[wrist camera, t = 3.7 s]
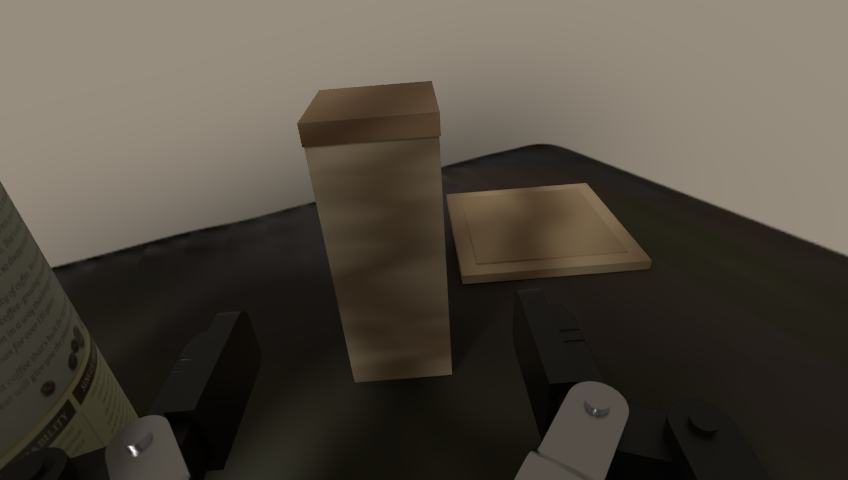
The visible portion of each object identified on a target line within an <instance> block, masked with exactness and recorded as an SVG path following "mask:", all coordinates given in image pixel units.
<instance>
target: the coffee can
mask: <svg viewBox="0 0 848 480" xmlns="http://www.w3.org/2000/svg"><path fill="white" fill-rule="evenodd" d="M136 419H139V417H138V416H137V414H136V412H135V410H134V409H133V407H132V405H131V404H130V402H129V400H128V399H127V397H126V395H125V394H124V392H123V390H122V389H121V387H120V385H119V383H118V382H117V380H116V378H115V376H114V375H113V373H112V371H111V370H110V368H109V366H108V365H107V363H106V361H105V359H104V358H103V356H102V354H101V353H100V351H99V349H98V348H97V346H96V344H95V343H94V341H93V339H92V337H91V335H90V333H89V332H88V330H87V329H86V327H85V325H84V324H83V322H82V320H81V319H80V317H79V315H78V314H77V312H76V310H75V309H74V307H73V305H72V303H71V302H70V300H69V298H68V297H67V295H66V293H65V291H64V290H63V288H62V286H61V284H60V283H59V281H58V279H57V278H56V276H55V274H54V272H53V271H52V269H51V267H50V266H49V264H48V262H47V261H46V259H45V257H44V255H43V254H42V252H41V250H40V248H39V247H38V245H37V243H36V242H35V240H34V238H33V237H32V235H31V233H30V231H29V229H28V228H27V226H26V225H25V223H24V221H23V219H22V218H21V216H20V214H19V212H18V211H17V209H16V207H15V206H14V204H13V202H12V201H11V199H10V197H9V195H8V194H7V192H6V190H5V189H4V187H3V185H2V184H1V182H0V477H1V476H2V475H3V473H4V472H5V471H6V470H7V469H8V468H10V467H11V466H12V465H13V464H14V463H16V462H17V461H19V460H20V459H22V458H23V457H25V456H27V455H29V454H31V453H33V452H35V451H37V450H41V449H44V448H49V447H57V448H61V449H63V450H64V451H65V452H66V453H67V455H68V456H69V457H70V458H73V457H76V456H79V455H82V454H85V453H88V452H91V451H94V450H97V449H100V448H103V447H106V446H107V445H108V443H109V442H110V440H111V439H112V437H113V436H114V435H115V434H116V433H117V432H118V431H119V430H120V429H122V428H123V427H124V426H126V425H127V424H129V423H130V422H132V421H134V420H136Z"/></svg>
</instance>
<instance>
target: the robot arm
mask: <svg viewBox="0 0 848 480" xmlns="http://www.w3.org/2000/svg"><path fill="white" fill-rule="evenodd" d="M513 339H514V346H515V350H516V354H517V357H518V361H519V364H520V368H521V371H522V375H523V378H524V382H525V385H526V389H527V392H528V396H529V399H530V402H531V406H532V409H533V413H534V416H535V420H536V423H537V427H538V430H539V434H540V437H541V441H542V443H541V445H540V447H539V448H538V450H537V451H535V450H532V451H531V452H530V453H529V454H528V456H527V457H526V459H525V461H524V463H523V464H522V466H521V468H520V470H519V472H518V474H517V475H516V477H515V479H514V480H770V478H769V477H768V475H767V474H766V472H765V470H764V469H763V467H762V466H761V464H760V463H759V461H758V460H757V458H756V457H755V455H754V453H753V452H752V450H751V449H750V447H749V446H748V444H747V443H746V441H745V439H744V438H743V436H742V435H741V433H740V432H739V430H738V429H737V427H736V425H735V424H734V423H733V421H732V420H731V419H730V418H729V417H728V416H727V415H726V414H725V413H724V412H722V411H721V410H719V409H718V408H716V407H714V406H713V405H711V404H708V403H705V402H702V401H698V400H690V399H687V400H681V401H677V402H675V403H674V404H673V405H671V407H670V408H669V411H668V412H666V411H661V410H656V409H651V408H645V407H641V406H637V405H634V404H631V403H629V402H627V401H626V400H625V399H624V397H623V396H622V395H621V394H620V393H619V392H618V391H616V390H615V389H614V388H612V387H610V386H608V385H607V384H606V382H605V380H604V378H603V376H602V374H601V372H600V370H599V368H598V366H597V364H596V361H595V359H594V357H593V355H592V353H591V351H590V349H589V347H588V345H587V343H586V342H585V339H584V337H583V335H582V332H581V331H580V328H579V326H578V324H577V322H576V320H575V318H574V316H573V315H572V314H571V313H570V312H569V311H568V310H567V309H566V308H564V307H563V306H562V305H561V304H555V305H548V303H547V301H546V299H545V296H544V294H543V292H542V290H541V289H540V288H537V289H525V290H515V293H514V313H513ZM260 363H261V353H260V348H259V345H258V342H257V339H256V336H255V333H254V331H253V328H252V325H251V322H250V319H249V316H248V314H247V313H246V312H245V311H235V312H222V313H218V314H216V316H215V317H214V319H213V321H212V323H211V325H210V327H209V328H208V330H207V331H200V332H199V333H198V334H197V335H196V336H195V337H194V338H192V339H191V340H190V341H189V342H188V343H187V344H186V345H185V347H184V349H183V351H182V352H181V354H180V356H179V357H178V362H176V363H175V364H174V366H173V368H172V370H171V373H170V374H169V375H168V377H167V378H166V380H165V382H164V384H163V385H162V387H161V389H160V391H159V392H158V394H157V396H156V397H155V399H154V401H153V403H152V404H151V406H150V408H149V410H148V411H147V413H146V415H145V417H141V418H139V419H136V420H134V421H132V422H130V423H129V424H127V425H126V426H124V427H123V428H122V429H120V430H119V431H118V432H117V433H116V434H115V435H114V436H113V437H112V439H111V440H110V442H109V443H108V445H107V446H106V447H103V448H100V449H97V450H94V451H91V452H88V453H85V454H82V455H79V456H76V457H73V458H70V457H69V456H68V455H67V453H66V452H65V451H64V450H63V449H61V448H57V447H49V448H44V449H41V450H37V451H35V452H33V453H31V454H29V455H27V456H25V457H23V458H22V459H20V460H19V461H17V462H16V463H14V464H13V465H12V466H11V467H10V468H8V469H7V470H6V471H5V472H4V473H3V475H2V476H1V477H0V480H203V479H204V477H205V474H206V472H207V471H209V470H222V469H224V466H225V464H226V461H227V458H228V455H229V452H230V450H231V447H232V444H233V441H234V438H235V436H236V433H237V430H238V427H239V425H240V422H241V419H242V416H243V413H244V411H245V408H246V405H247V402H248V399H249V397H250V394H251V391H252V388H253V385H254V383H255V380H256V377H257V374H258V372H259V368H260Z"/></svg>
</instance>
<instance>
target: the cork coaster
mask: <svg viewBox="0 0 848 480" xmlns="http://www.w3.org/2000/svg"><path fill="white" fill-rule="evenodd" d="M447 205H448V210H449V215H450V220H451V226H452V231H453V236H454V241H455V247H456V252H457V257H458V262H459V268H460V273H461V278H462V283H463V284H472V283H485V282H497V281H509V280H522V279H534V278H546V277H559V276H571V275H583V274H596V273H608V272H620V271H632V270H645V269H650V267H651V262H652V260H651V259H650V258H649V257H648V255H647V254H646V253H645V252H644V251H643V249H642V248H641V247H640V246H639V245H638V244H637V242H636V241H635V240H634V239H633V238H632V236H631V235H630V234H629V233H628V232H627V231H626V229H625V228H624V227H623V226H622V225H621V223H620V222H619V221H618V220H617V219H616V218H615V216H614V215H613V214H612V213H611V212H610V210H609V209H608V208H607V207H606V206H605V205H604V203H603V202H602V201H601V200H600V199H599V198H598V196H597V195H596V194H595V193H594V192H593V190H592V189H591V188H590V187H589V186H588V185H587V183H582V184H569V185H557V186H545V187H533V188H520V189H508V190H496V191H483V192H471V193H459V194H447Z"/></svg>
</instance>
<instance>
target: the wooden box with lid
mask: <svg viewBox="0 0 848 480" xmlns="http://www.w3.org/2000/svg"><path fill="white" fill-rule="evenodd" d="M297 125H298V129H299V134H300V139H301V143H302V147H304V149H305V153H306V158H307V162H308V167H309V172H310V177H311V181H312V186H313V190H314V195H315V200H316V205H317V209H318V214H319V219H320V223H321V228H322V233H323V237H324V242H325V247H326V251H327V256H328V261H329V265H330V270H331V275H332V279H333V284H334V289H335V293H336V298H337V303H338V307H339V312H340V317H341V321H342V326H343V331H344V335H345V340H346V345H347V349H348V354H349V359H350V363H351V368H352V373H353V377H354V382H355V383H356V382H368V381H380V380H393V379H405V378H417V377H429V376H442V375H452V361H451V343H450V325H449V306H448V288H447V270H446V252H445V234H444V215H443V197H442V179H441V161H440V143H439V136H441V132H440V114H439V108H438V104H437V100H436V97H435V93H434V89H433V85H432V81H426V82H414V83H401V84H389V85H378V86H365V87H353V88H342V89H328V90H319V91H318V93H317V95H316V96H315V98H314V99H313V100H312V102H311V104H310V105H309V107H308V108H307V110H306V111H305V113H304V114H303V116H302V117H301V119H300V120H299V122H298V123H297Z"/></svg>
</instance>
